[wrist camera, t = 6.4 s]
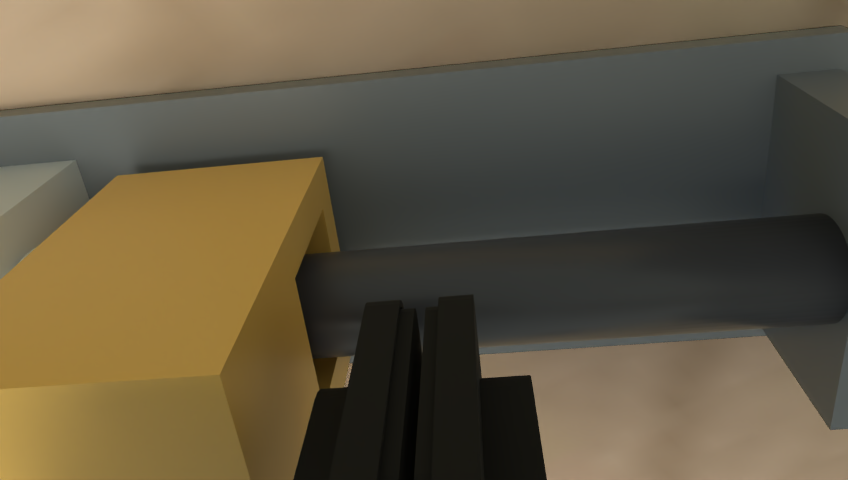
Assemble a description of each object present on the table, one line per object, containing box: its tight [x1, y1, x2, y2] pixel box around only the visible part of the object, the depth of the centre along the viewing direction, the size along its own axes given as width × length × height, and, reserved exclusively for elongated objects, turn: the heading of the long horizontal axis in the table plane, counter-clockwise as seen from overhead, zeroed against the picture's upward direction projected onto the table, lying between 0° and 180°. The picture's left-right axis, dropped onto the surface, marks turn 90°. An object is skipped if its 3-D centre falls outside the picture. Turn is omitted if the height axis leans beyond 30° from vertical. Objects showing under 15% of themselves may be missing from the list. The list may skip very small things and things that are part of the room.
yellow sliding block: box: [0, 157, 351, 480], centre depth 13 cm, size 4×4×7 cm
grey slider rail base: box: [0, 26, 848, 430], centre depth 15 cm, size 20×7×5 cm, turn 96°
